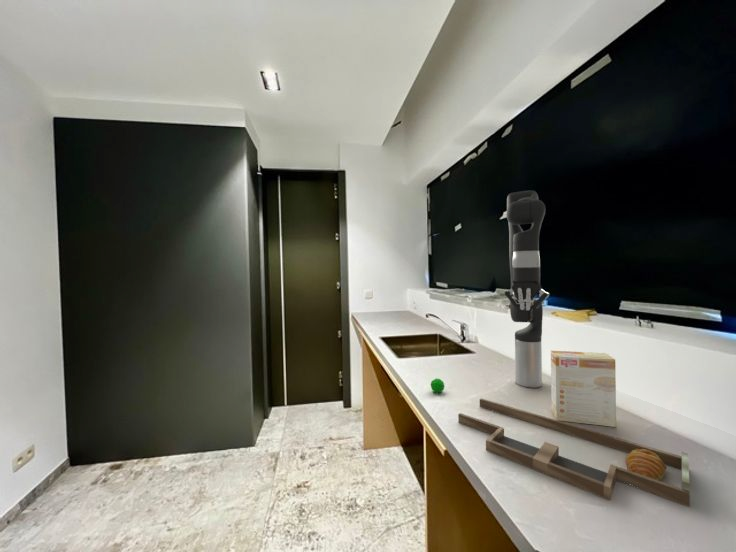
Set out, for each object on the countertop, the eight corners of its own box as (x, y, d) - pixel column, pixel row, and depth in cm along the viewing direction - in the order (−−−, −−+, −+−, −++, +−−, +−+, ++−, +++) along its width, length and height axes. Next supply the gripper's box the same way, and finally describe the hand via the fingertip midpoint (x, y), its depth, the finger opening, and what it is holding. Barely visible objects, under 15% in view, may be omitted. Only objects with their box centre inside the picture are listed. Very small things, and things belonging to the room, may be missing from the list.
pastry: (663, 492, 63) (663, 474, 63) (621, 477, 68) (621, 460, 68) (666, 471, 69) (666, 454, 69) (627, 458, 74) (627, 442, 74)
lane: (481, 405, 103) (480, 393, 103) (687, 469, 70) (688, 451, 69) (444, 432, 87) (443, 418, 87) (690, 533, 53) (690, 510, 53)
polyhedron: (447, 392, 115) (447, 379, 115) (438, 395, 112) (437, 382, 112) (437, 388, 119) (436, 375, 119) (428, 391, 116) (427, 378, 116)
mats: (504, 437, 84) (504, 435, 84) (610, 475, 68) (610, 474, 68) (491, 449, 79) (491, 448, 79) (604, 495, 62) (604, 493, 62)
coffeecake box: (607, 416, 94) (606, 352, 94) (617, 428, 87) (616, 359, 87) (550, 410, 99) (550, 349, 99) (556, 420, 92) (555, 355, 92)
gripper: (553, 265, 94) (554, 322, 95) (508, 266, 103) (509, 318, 104) (546, 265, 89) (546, 326, 89) (499, 266, 98) (500, 321, 99)
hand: (526, 321), depth 97 cm, fingers closed
